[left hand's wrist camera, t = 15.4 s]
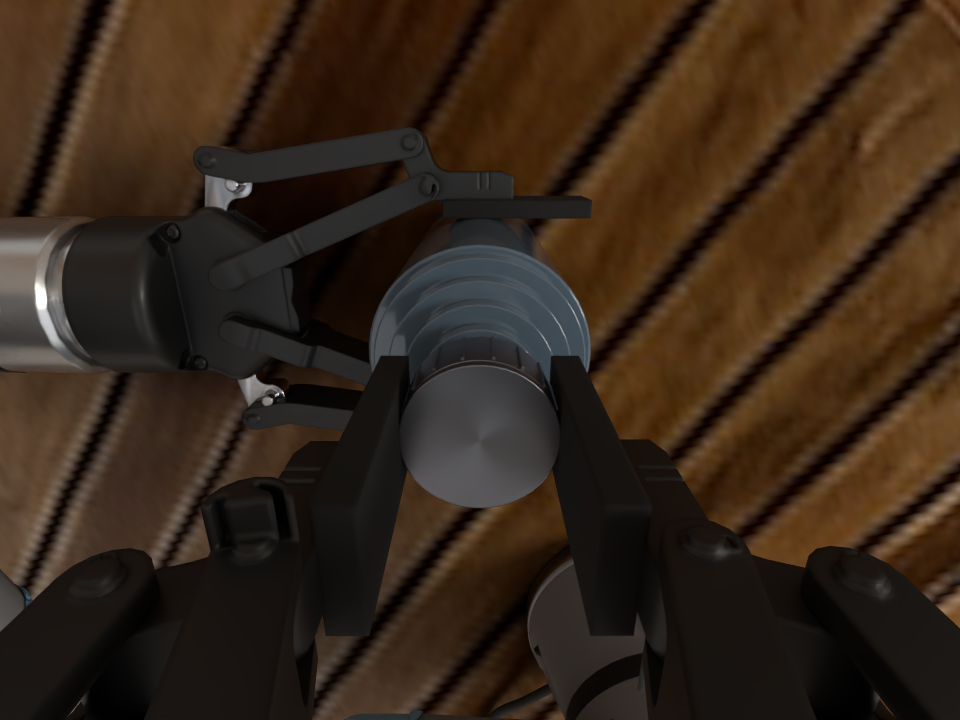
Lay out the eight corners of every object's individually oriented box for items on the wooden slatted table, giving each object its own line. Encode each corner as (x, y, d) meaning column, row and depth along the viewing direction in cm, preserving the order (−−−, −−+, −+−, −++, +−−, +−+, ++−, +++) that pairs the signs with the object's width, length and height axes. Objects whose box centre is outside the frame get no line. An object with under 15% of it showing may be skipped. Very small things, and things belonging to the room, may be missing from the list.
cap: (450, 486, 16) (446, 532, 14) (378, 374, 14) (363, 409, 12) (575, 430, 15) (589, 471, 13) (512, 307, 14) (517, 333, 12)
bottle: (392, 246, 31) (264, 383, 13) (502, 177, 30) (540, 216, 11) (459, 349, 34) (434, 590, 15) (564, 289, 32) (680, 474, 14)
